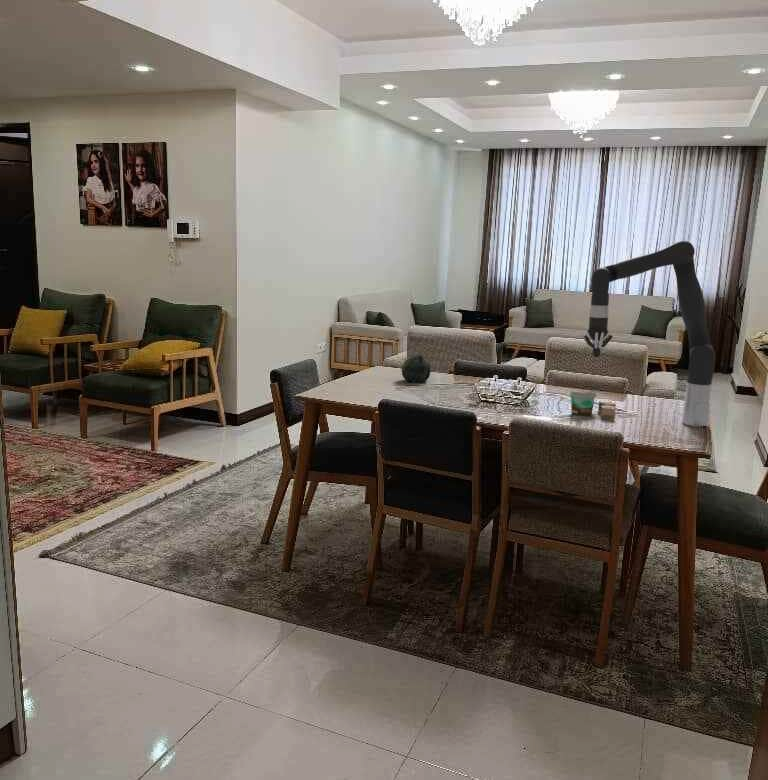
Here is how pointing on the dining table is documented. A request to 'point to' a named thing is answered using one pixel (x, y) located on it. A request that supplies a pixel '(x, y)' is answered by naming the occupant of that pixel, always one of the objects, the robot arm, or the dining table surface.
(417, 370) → the squash
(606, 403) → the marked block
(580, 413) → the food container
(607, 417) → the marked block
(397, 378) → the dining table surface
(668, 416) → the dining table surface
